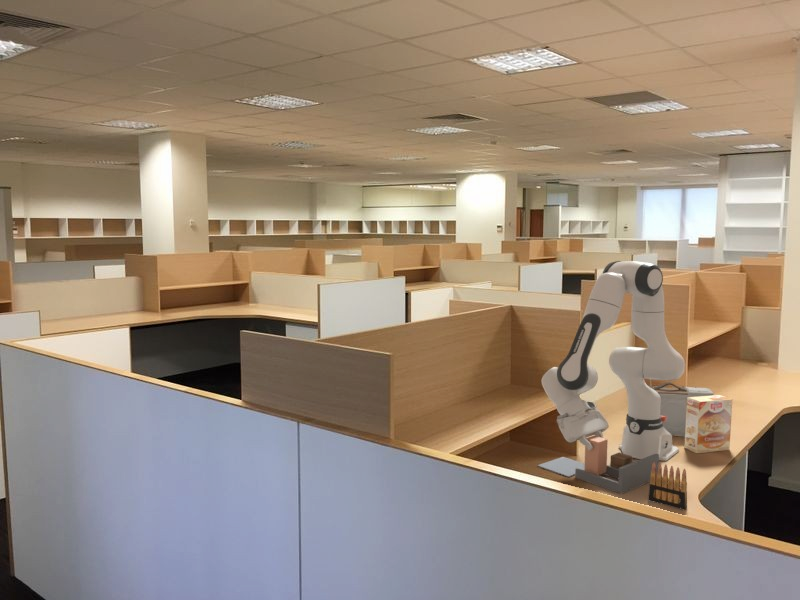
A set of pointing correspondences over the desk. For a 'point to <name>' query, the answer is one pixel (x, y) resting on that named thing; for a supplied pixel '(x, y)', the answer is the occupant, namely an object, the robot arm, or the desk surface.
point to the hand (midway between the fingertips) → (597, 447)
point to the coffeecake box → (708, 423)
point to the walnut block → (620, 460)
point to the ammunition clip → (668, 487)
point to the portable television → (677, 405)
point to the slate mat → (563, 466)
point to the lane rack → (623, 475)
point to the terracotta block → (596, 456)
